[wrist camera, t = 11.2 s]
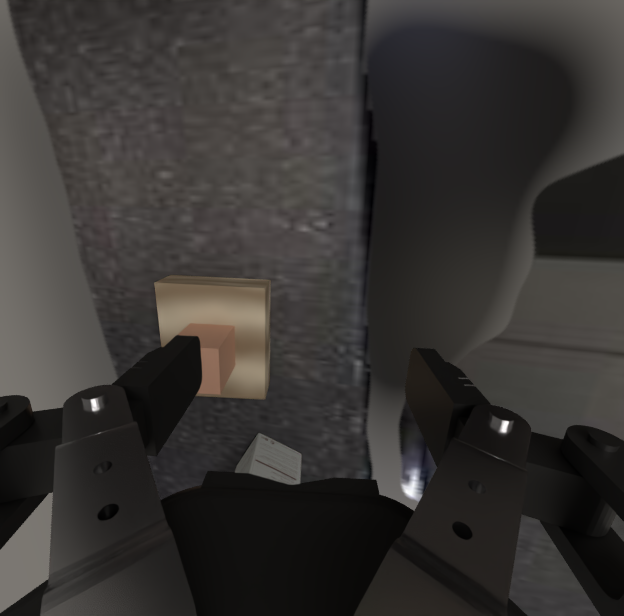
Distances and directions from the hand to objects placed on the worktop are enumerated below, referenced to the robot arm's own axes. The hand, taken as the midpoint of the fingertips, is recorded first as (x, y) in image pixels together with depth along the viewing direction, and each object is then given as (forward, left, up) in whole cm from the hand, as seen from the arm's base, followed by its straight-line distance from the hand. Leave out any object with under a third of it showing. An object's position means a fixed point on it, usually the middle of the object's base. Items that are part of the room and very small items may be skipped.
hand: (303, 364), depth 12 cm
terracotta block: (+10, -11, -22) cm, 27 cm away
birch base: (+10, -11, -26) cm, 30 cm away
